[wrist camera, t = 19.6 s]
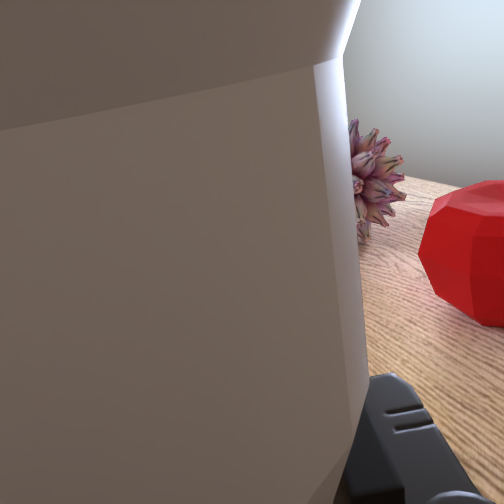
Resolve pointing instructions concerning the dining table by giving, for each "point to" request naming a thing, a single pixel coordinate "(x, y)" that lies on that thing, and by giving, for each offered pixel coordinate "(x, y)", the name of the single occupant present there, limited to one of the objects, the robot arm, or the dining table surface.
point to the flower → (372, 179)
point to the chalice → (177, 252)
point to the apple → (468, 250)
